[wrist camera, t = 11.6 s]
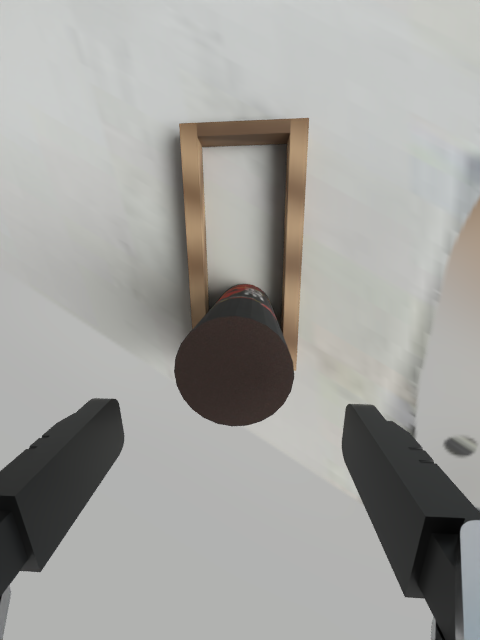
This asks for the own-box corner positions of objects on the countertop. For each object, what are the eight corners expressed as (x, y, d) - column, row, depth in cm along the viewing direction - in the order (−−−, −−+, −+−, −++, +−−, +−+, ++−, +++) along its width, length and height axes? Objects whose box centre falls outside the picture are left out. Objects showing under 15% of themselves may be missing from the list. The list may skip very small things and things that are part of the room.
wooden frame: (185, 135, 22) (171, 109, 18) (304, 130, 22) (315, 102, 18) (198, 361, 28) (190, 377, 24) (292, 362, 27) (299, 379, 24)
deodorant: (217, 335, 27) (176, 422, 13) (218, 283, 26) (171, 313, 11) (270, 337, 27) (289, 429, 12) (273, 284, 25) (299, 318, 11)
